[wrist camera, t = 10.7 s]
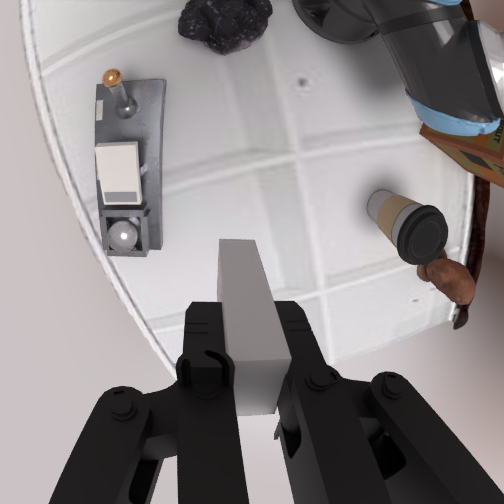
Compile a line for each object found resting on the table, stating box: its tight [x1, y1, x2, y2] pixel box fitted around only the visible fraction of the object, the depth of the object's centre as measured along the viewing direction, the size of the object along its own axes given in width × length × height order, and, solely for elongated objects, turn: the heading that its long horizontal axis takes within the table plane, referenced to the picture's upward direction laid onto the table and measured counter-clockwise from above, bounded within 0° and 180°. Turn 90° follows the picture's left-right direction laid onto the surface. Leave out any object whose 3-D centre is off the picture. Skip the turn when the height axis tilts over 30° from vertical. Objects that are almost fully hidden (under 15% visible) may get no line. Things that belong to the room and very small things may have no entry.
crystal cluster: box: [178, 0, 273, 55], centre depth 27 cm, size 13×14×10 cm
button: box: [107, 217, 141, 253], centre depth 40 cm, size 4×4×4 cm
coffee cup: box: [367, 190, 448, 265], centre depth 42 cm, size 9×9×15 cm
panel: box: [95, 79, 166, 257], centre depth 37 cm, size 26×10×5 cm, turn 174°
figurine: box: [417, 249, 475, 305], centre depth 50 cm, size 9×10×15 cm
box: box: [419, 118, 504, 188], centre depth 34 cm, size 17×9×20 cm, turn 70°
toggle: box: [102, 68, 129, 108], centre depth 28 cm, size 2×2×8 cm
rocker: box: [95, 141, 142, 205], centre depth 35 cm, size 9×6×1 cm, turn 174°
